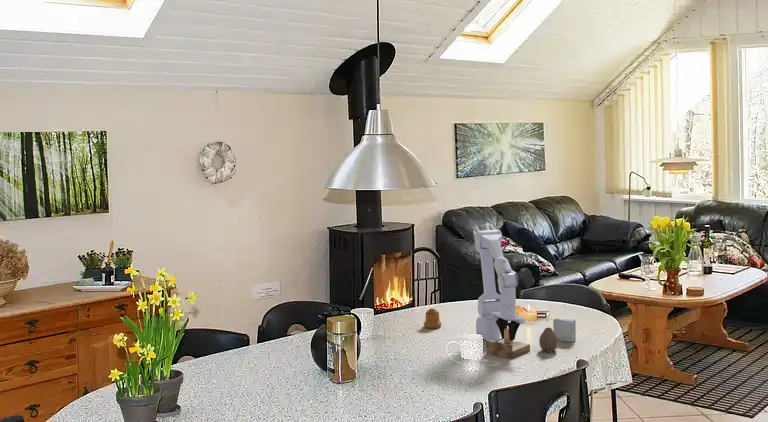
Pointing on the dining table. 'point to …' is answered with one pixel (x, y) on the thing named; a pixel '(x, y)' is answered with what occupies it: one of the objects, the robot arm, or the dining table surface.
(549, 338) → the vase
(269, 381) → the dining table surface
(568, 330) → the medicine box
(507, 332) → the peach rounded cylinder
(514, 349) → the brown wooden box
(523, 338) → the dining table surface
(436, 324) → the ornamental finial
